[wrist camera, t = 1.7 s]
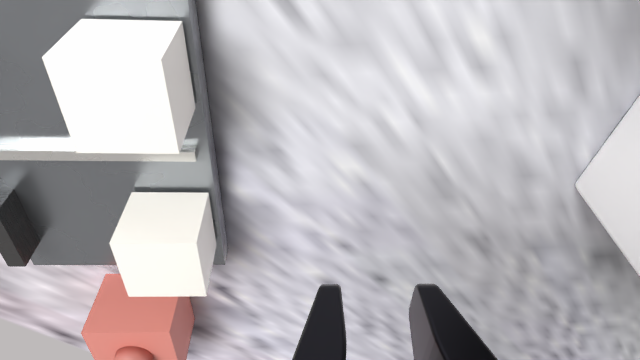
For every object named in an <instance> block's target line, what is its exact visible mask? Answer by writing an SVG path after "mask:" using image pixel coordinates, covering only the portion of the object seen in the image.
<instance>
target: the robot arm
mask: <svg viewBox="0 0 640 360" xmlns="http://www.w3.org/2000/svg"><path fill="white" fill-rule="evenodd" d="M409 321H410V329H411V338H412V346H413V354H414V360H498V359H497V358H496V357H495V356H494V354H493V353H492V352H491V351H490V350H489V348H488V347H487V346H486V345H485V343H484V342H483V341H482V340H481V338H480V337H479V336H478V335H477V334H476V332H475V331H474V330H473V329H472V327H471V326H470V325H469V324H468V322H467V321H466V320H465V319H464V318H463V316H462V315H461V314H460V313H459V311H458V310H457V309H456V308H455V306H454V305H453V304H452V303H451V302H450V300H449V299H448V298H447V297H446V295H445V294H444V293H443V292H442V290H441V289H440V288H439V287H438V286H437V285H435V284H417V285H416V286H415V288H414V292H413V296H412V300H411V304H410V308H409ZM292 360H346V330H345V321H344V312H343V303H342V294H341V287H340V286H339V285H338V284H322V285H321V286H320V287H319V289H318V292H317V295H316V297H315V300H314V303H313V305H312V308H311V311H310V313H309V316H308V319H307V321H306V324H305V327H304V329H303V332H302V335H301V337H300V340H299V343H298V345H297V348H296V351H295V354H294V356H293V359H292Z"/></svg>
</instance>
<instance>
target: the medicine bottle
mask: <svg viewBox="0 0 640 360" xmlns="http://www.w3.org/2000/svg"><path fill="white" fill-rule="evenodd" d="M575 186H576V189H577V191H578V192H579V193H580V195H581V196H582V197H583V199H584V200H585V202H586V203H587V204H588V206H589V207H590V209H591V210H592V211H593V213H594V214H595V216H596V217H597V218H598V220H599V221H600V222H601V224H602V225H603V227H604V228H605V229H606V231H607V232H608V234H609V235H610V236H611V238H612V239H613V241H614V242H615V243H616V245H617V246H618V248H619V249H620V250H621V252H622V253H623V254H624V256H625V257H626V259H627V260H628V261H629V263H630V264H631V266H632V267H633V268H634V270H635V271H636V273H637V274H638V275H639V277H640V95H639V97H638V98H637V99H636V101H635V102H634V104H633V105H632V106H631V108H630V109H629V110H628V112H627V113H626V114H625V116H624V117H623V119H622V120H621V121H620V123H619V124H618V125H617V127H616V128H615V129H614V131H613V132H612V134H611V135H610V136H609V138H608V139H607V140H606V142H605V143H604V144H603V146H602V147H601V149H600V150H599V151H598V153H597V154H596V155H595V157H594V158H593V159H592V161H591V162H590V164H589V165H588V166H587V168H586V169H585V170H584V172H583V173H582V174H581V176H580V177H579V179H578V180H577V181H576V183H575Z"/></svg>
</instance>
